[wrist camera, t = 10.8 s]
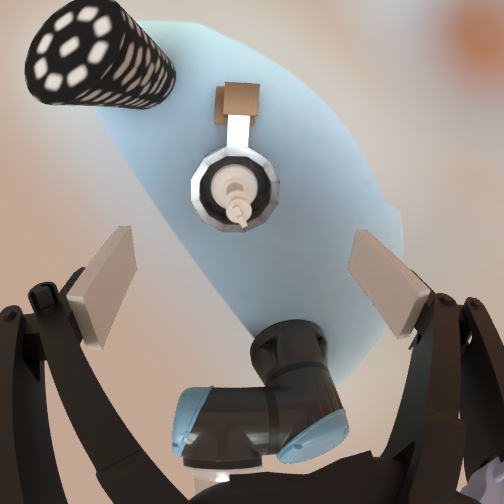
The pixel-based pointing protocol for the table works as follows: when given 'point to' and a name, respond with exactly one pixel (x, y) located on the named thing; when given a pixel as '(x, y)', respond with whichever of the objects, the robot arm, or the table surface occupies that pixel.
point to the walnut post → (236, 101)
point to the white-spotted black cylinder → (97, 59)
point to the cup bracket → (240, 155)
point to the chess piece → (235, 191)
